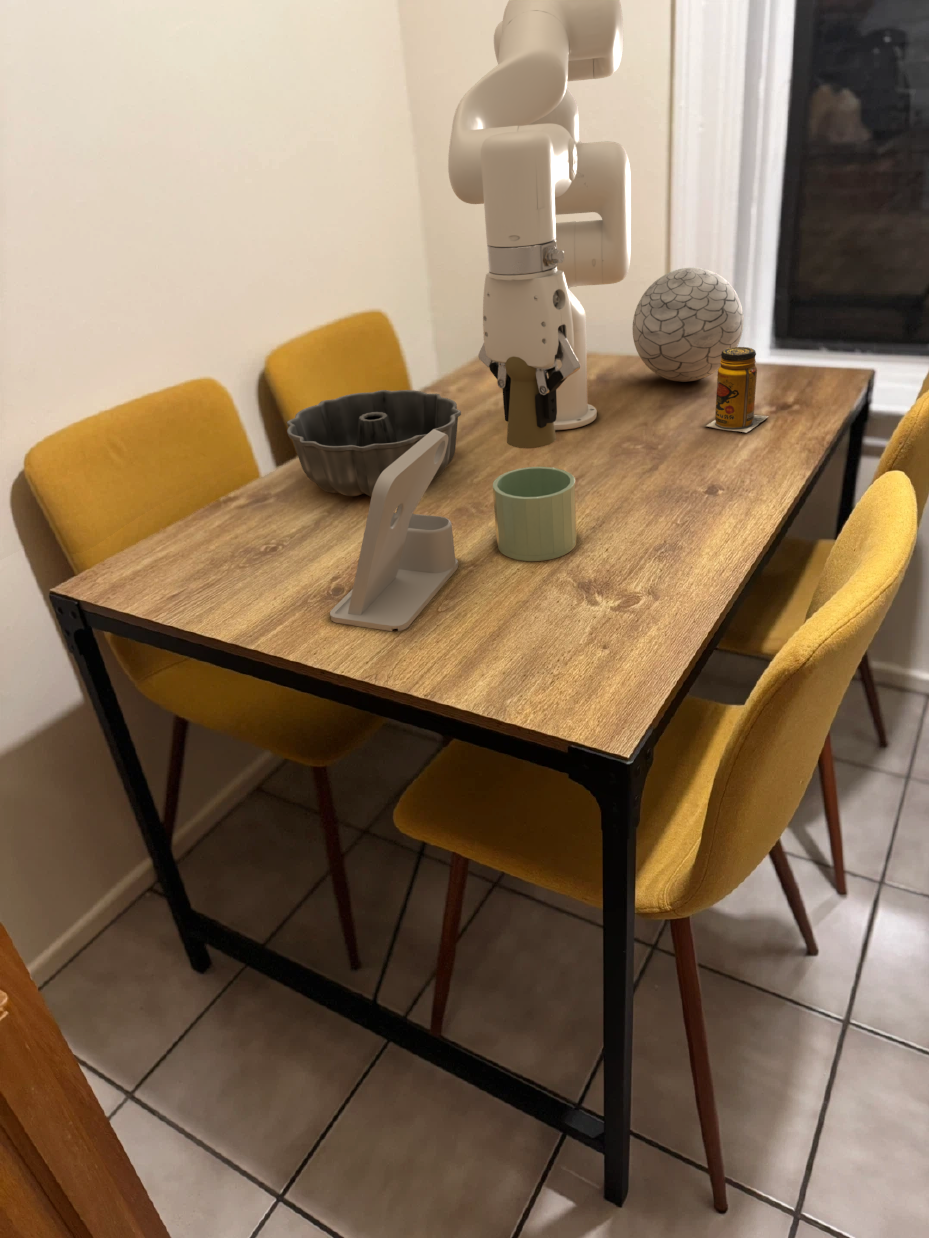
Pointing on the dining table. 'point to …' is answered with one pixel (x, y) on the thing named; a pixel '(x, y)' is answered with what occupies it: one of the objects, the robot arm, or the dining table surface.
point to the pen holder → (535, 513)
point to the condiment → (736, 391)
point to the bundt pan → (367, 435)
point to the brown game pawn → (525, 408)
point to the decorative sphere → (687, 324)
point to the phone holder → (401, 545)
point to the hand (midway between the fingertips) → (530, 419)
